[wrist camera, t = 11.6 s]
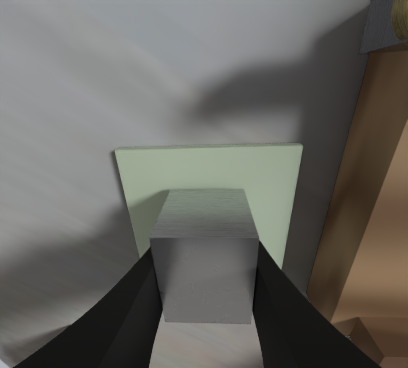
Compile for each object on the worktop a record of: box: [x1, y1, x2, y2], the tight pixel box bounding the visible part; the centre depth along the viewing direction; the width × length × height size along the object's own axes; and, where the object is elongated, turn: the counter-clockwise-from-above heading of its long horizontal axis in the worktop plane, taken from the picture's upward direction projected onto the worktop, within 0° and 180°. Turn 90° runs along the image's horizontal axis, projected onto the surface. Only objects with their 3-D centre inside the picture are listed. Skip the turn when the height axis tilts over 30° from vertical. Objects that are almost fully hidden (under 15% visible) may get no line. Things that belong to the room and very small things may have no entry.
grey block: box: [149, 189, 259, 324], centre depth 10 cm, size 5×4×4 cm
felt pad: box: [114, 143, 303, 269], centre depth 13 cm, size 10×10×1 cm
